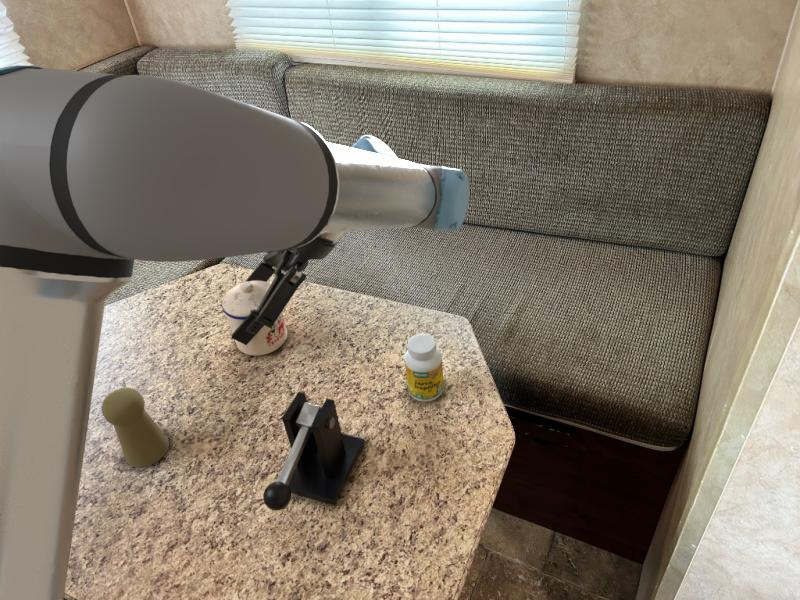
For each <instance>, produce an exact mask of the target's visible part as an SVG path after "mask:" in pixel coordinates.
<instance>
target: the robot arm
mask: <svg viewBox="0 0 800 600" xmlns="http://www.w3.org/2000/svg"><path fill="white" fill-rule="evenodd" d="M469 201H470V181H469V178H468V175H467V173H466V172H465V171H464V170H462V169H458V168H451V167H446V166H445V165H440V166H437V165H430V164H429V165H427V164H421V163H418V162H412V161H409V160H405V159H401V158H399V157H398V156H397V155H396V153H395V152H394V150H392V149H391V148H390V146H388V145H387V144H386V143H384V141H382V140H381V139H379V138H378V137H376V136H373V135H371V134H364V135H362V136H361V137H360V138H359V139H357V141H355V143H354V144H352V145H351V146H350V147H349V146H346V145H342V144H336V143H333V142H328V141H326V140H325V139H324V137H323V136H322V135H321V134H320V133H319V132H318V131H317V130H315V129H314V128H313V127H312V126H310V125H309V124H307V123H304V122H303V121H300V120H297V119H294V118H290V117H287V116H285V115H281V114H278V113H275V112H272V111H269V110H267V109H264V108H261V107H258V106H255V105H252V104H250V103H247V102H244V101H241V100H238V99H236V98H232V97H230V96H226V95H223V94H221V93H217V92H216V91H215V92H214V91H211V90H209V89H205V88H203V87H199V86H197V85H194V84H190V83H187V82H186V83H185V82H183V81H178V80H176V79H175V80H174V79H172V78H165V77H159V76H153V75H146V74H145V75H144V74H127V75H126V74H116V73H115V74H114V73H103V72H92V71H81V70H72V69H62V68H61V69H59V68H51V67H41V66H38V65H33V64H32V65H19V64H16V65H9V66H8V65H7V66H4V67H0V600H64V599H65V592H66V591H65V590H66V584H67V576H68V571H69V562H70V556H71V548H72V547H71V546H72V543H73V534H74V527H75V520H76V515H77V514H76V513H77V507H78V499H79V490H80V484H81V478H82V477H81V476H82V471H83V463H84V455H85V450H86V442H87V436H88V435H87V434H88V427H89V419H90V412H91V406H92V400H93V391H94V384H95V378H96V370H97V364H98V356H99V349H100V341H101V334H102V329H103V328H102V327H103V320H104V315H105V314H104V313H105V305H106V301H107V300H108V299H109V298H110V296H112V295H114V293H116V292H117V291H119V290H120V289H121V288H123V287H124V286H126V285H127V284H128V283H130V282H131V281H132V277H133V273H134V265H135V261H144V262H155V263H156V262H159V263H179V262H181V263H182V262H196V261H204V260H215V259H224V258H233V257H239V256H246V255H247V256H248V255H254V254H255V255H256V254H262V253H263V254H264V253H266V254H265V255H264V256H263V258H262V261H261V262H260V263H259V264H258V265H257V266H256V268H255V269H254V270H253V271H252V273H251V274H250V275H249V276H248V277H247V278H246V280H245V281H244V282H247V281H265V282H268V281H269V280H270V279H271V277H273V275H274V277H273V280H272V281H271V283H270V284H271V285H270V287H269V289H268V291H267V292H266V294H265V296H264V298H263V300H262V301H261V303H260V305H259V307H258V308H257V310H255V309H254V310H252V309H251V311H250V314H249V316H248V317H247V318H246V319H245V320H244V321H243V322H242V324H241V325H240V326H239V327H238V328H237V329H236V331H235V332H234V333H232V334H231V339H233V340H234V341H235V340H237V341H239V342H241V343H243V344H245V345H247V344H248V343H249V342H250V341H251V340H252V338H253V337H254V336H255V335H256V334H257V333H258V332H259V331H260V330H261V328H262V327H263V326H264V325H265V326H267V327H269V328H271V327H272V326H273V325H274V323H275V321H276V320H277V318H278V317H279V315H280V314H281V312H282V313H283V311H284V310H285V308H286V306H287V305H288V303H289V302H290V301H291V299H292V297H293V296H294V295H295V293H296V291H297V289H298V288H299V287H300V286H301V285H302V284H303V283H304V282H305V280H307V274H306V273H304V272H303V271H305V270H306V269H307V266H308V264H309V261H310V260H311V261H312V260H315V261H316V260H318V261H320V260H324V259H325V258H327V257H328V255H330V253H331V252H332V251H333V250H334V249H335V247H336V246H337V245H338V244H339V241H341V240H342V239H343V238H344V237H345V236H346V235H347V234H348V233H349V232H360V231H361V232H362V231H364V232H365V231H376V230H378V231H379V230H391V229H393V230H394V229H413V228H414V229H415V228H418V229H423V230H424V229H427V230H432V231H434V232H437V231H441V232H455V231H457V230H459V229H460V228H461V226H462V225H463V223H464V221H465V220H466V216H467V212H468V208H469Z"/></svg>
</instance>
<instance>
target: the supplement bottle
mask: <svg viewBox="0 0 800 600" xmlns="http://www.w3.org/2000/svg"><path fill="white" fill-rule="evenodd" d="M404 367H405V375H406V383H407V391H408V393H409V395H410V396H411V397H412V399H414V400H416V401H418V402H424V403H427V402H432V401H434V400H436V399H438V398H439V397H440V396H441V395H442V394H443V392H444V388H445V386H444V385H445V384H444V373H443V372H444V371H443V370H444V369H443V368H444V367H443V356H442V353H441V350H440V349H439V348H438V347H437V341H436V339H435V337H433V336H432V335H430V334H427V333H418V334H415V335H413V336H411V337H410V338H409V339H408V341H407V351H406V352H405V354H404Z"/></svg>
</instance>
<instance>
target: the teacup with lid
mask: <svg viewBox="0 0 800 600" xmlns="http://www.w3.org/2000/svg"><path fill="white" fill-rule="evenodd" d="M271 284H272V283H270V282H268V281H267V282H265V281H247V282H245V281H243V282H242V283H239V284H236V285H235V286H234V287H232V288H231V289H229V290H228V291H227V292H226V294H225V295H224V296H223V298H222V303H221V308H222V311H223V313H224V314H225V316H226V318H227V321H228V324H229V327H230V330H231V333H232V334H233V333H234V332H235V331H236V329H237V328H238V327H239V326H240V325H241V324H242V322H243V321H244V320H245V319H246V318H247V317H248V316H249V314H250V311H251V309H252V310H254V309H255V310H257V308H258V307H259V305H260V303H261V301H262V300H263V298H264V296H265V294H266V292H267V291H268V289H269V287H270V285H271ZM287 338H288V329H287V325H286V321H285V317H284V314H283V311H282V312H281V314H280V315H279V317H278V318H277V320H276V321H275V323H274V325H273V326H272V327H271V328H269V327H267V326H265V325H264V326H263V327H262V328H261V330H260V331H259V332H258V333H257V334H256V335H255V336H254V337H253V338H252V340H251V341H250V342H249V343H248V344H247V345H245V344H243V343H241V342H239V341H237V340H235V339H234V341H235V344H236V347H237V349H238V350H239V351H240V352H241V353H243V354H245V355H249V356H255V357H256V356H264V355H267V354H270V353H273V352H274V351H277V350H278V349H279V348H280V347H282V345H284V343H285V342H286V340H287Z"/></svg>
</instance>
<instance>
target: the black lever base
mask: <svg viewBox="0 0 800 600" xmlns="http://www.w3.org/2000/svg"><path fill="white" fill-rule="evenodd" d="M304 403H309V402H308V398H307V395H306V392H302V391H298V392H296V394H295V397H294V398H293V400H292V401H291V402H290V404H289V405H288V408H287V409H286V411H285V412H284V414H283V415H282V416H281V419H282V424H283V426H284V429H285V432H286V435H287V439H288V442H289V445H290V450H291V449H292V446H293V444H294V442H295V440H296V437H297V435H298V433H299V430H300V427H299V426H298V425H297V423H296V421H297V418H298V416H299V414H300V412H301V409H302V407H303V405H304ZM311 426H312V430H313V433H310V435H309V437H308V440H307V442H306V444H305V447H304V449H303V452H302V454H301V456H300V459H299V461H298V463H297V466H296V468H295V470H294V473H293V475H292V478H291V480H290V482H289V485H288V486H289V488H290V490H291V494H292V495H296V496H298V497H299V496H300V497H303V498H307V499H310V500H313V501H316V502H320V503H324V504H328V505H330V506H336V504H337V502H338V500H339V498H340V496H341V494H342V493H343V490H344V488H345V487H346V484H347V483H348V480H349V478H350V476H351V474H352V472H353V469H354V467H355V466H356V463H357V461H358V459H359V457H360V455H361V454H362V451H363V448H365V447H364V446H365V445H366V444H365V439H364V438H362V437H357V436H353V435H350V434H346V433H342V429H341V426H340V421H339V416H338V412H337V408H336V402H335V400H334V399H331V398H325V401H324V402H323V404H322V406H321V409H320V411H319V413H318V415H317V416H316V418H315V420H314V421H313V423H312V425H311Z"/></svg>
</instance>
